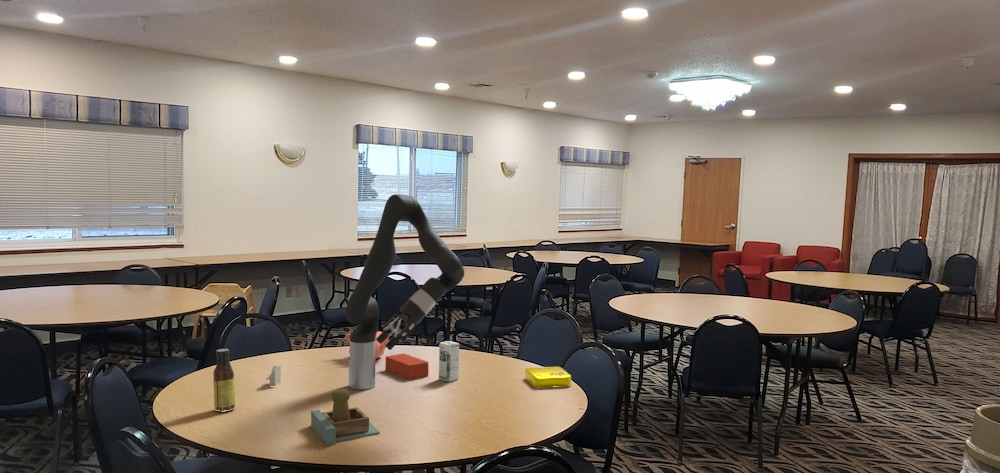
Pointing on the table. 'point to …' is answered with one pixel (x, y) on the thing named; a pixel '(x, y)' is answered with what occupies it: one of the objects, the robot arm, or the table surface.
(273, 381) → the architectural model
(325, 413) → the wooden tray
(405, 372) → the brick
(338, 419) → the olive knob
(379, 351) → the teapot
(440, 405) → the table surface
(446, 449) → the table surface
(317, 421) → the track and backstop
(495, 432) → the table surface
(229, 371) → the sauce bottle
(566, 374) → the element tile
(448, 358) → the syrup box
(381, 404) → the table surface
